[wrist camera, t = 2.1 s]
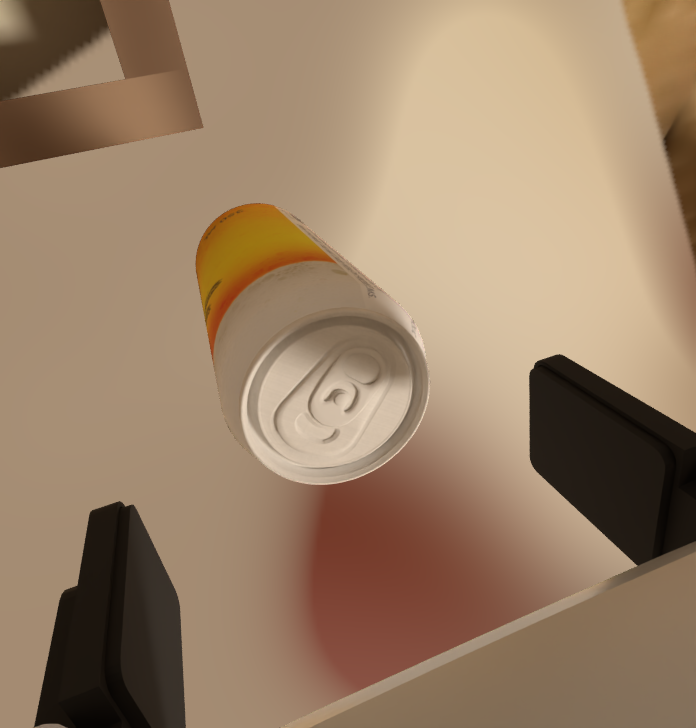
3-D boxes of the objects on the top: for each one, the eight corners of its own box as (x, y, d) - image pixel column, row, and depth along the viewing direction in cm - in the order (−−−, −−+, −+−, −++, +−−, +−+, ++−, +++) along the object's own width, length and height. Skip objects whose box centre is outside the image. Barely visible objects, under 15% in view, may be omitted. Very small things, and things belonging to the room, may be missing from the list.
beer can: (171, 280, 26) (176, 449, 13) (237, 174, 25) (315, 246, 12) (272, 337, 29) (358, 521, 16) (336, 245, 28) (483, 364, 15)
